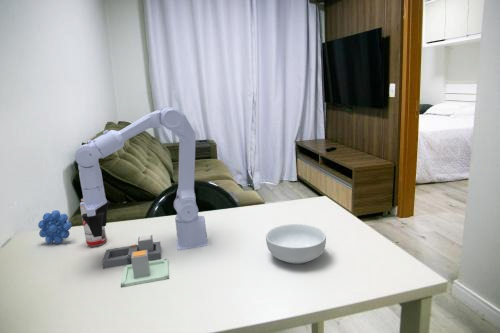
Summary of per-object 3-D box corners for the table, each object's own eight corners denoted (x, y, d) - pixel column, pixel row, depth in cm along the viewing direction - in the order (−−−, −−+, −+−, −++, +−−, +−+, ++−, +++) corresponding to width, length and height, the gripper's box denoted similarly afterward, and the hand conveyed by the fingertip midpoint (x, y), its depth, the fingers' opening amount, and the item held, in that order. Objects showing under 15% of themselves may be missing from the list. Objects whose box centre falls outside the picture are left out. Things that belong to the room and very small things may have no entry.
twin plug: (154, 252, 106) (152, 234, 105) (154, 258, 103) (151, 239, 101) (141, 255, 105) (138, 236, 104) (140, 260, 102) (137, 241, 101)
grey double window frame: (161, 248, 109) (159, 240, 108) (161, 260, 101) (159, 251, 100) (107, 257, 105) (106, 248, 104) (103, 269, 97) (102, 260, 97)
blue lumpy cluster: (81, 237, 121) (75, 205, 118) (70, 246, 114) (64, 212, 112) (49, 238, 121) (43, 206, 119) (37, 247, 115) (30, 213, 112)
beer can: (99, 248, 112) (91, 201, 108) (82, 247, 113) (74, 201, 109) (110, 239, 118) (103, 195, 114) (94, 239, 119) (87, 195, 115)
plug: (150, 269, 95) (147, 249, 94) (149, 275, 92) (146, 254, 91) (135, 272, 94) (132, 251, 93) (134, 278, 91) (131, 257, 90)
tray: (168, 262, 100) (167, 258, 99) (169, 280, 90) (168, 275, 90) (125, 269, 97) (124, 265, 97) (121, 288, 87) (120, 284, 87)
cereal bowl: (331, 248, 102) (331, 226, 101) (318, 277, 88) (317, 252, 86) (278, 241, 110) (277, 220, 108) (257, 266, 95) (256, 242, 93)
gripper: (83, 181, 103) (90, 223, 106) (70, 195, 89) (79, 243, 92) (107, 179, 105) (114, 220, 108) (99, 192, 91) (107, 239, 94)
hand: (100, 230), depth 100 cm, fingers open, 7 cm apart
